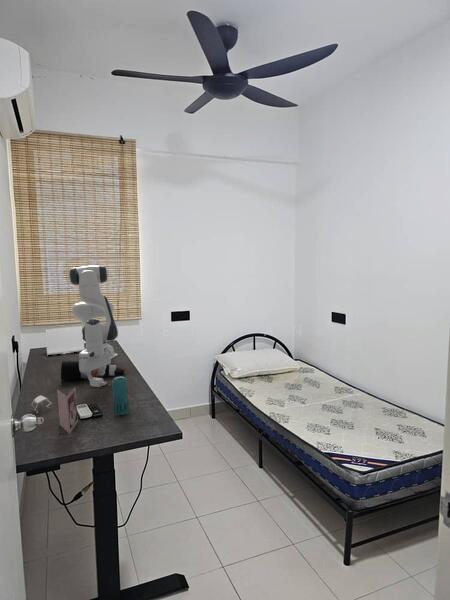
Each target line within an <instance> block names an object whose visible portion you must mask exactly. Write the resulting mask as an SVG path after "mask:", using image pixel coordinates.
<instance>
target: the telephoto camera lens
mask: <svg viewBox="0 0 450 600" xmlns="http://www.w3.org/2000/svg"><path fill="white" fill-rule="evenodd" d="M60 367H61V369H60V380H61V381H69V380H70V381H73V380H74V381H76V380H77V381H78V380H80V381H81V380H82V378H88V376H87V374H86V373H81V372H80V370H79V360H78V361H77V360H75V361H74V360H73V361H72V360H71V361H69V360H68V361H67V360H64V361H62V362H61V366H60ZM117 369H123V370H124V373H126V367H125V368H119V367H117V365H116V364H108V365H106V369H105V374H103V375H102V374H101V372H100V371H101V370H102V367H100V368H98V369H95V370H92V371H91V373H90V374H91V376H92V378H93V377H96V378H99V377H109V376H110V377H111V376H113V377H115V376H114V371H115V370H117Z"/></svg>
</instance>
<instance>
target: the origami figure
mask: <svg viewBox="0 0 450 600" xmlns="http://www.w3.org/2000/svg"><path fill="white" fill-rule="evenodd" d="M44 401H46V402H48V403H47V405H46V406H45V407H46V408H48V409H50V407H49V406H51V405H52V404H53V402H52V401H50V400H49V398H48V397H45V396H43V395H38V396H37V397H36V398H34V399H33V401H32V403H31V406H32V408H34V411H36V414H38V413H39V410H38V409H37V408H38V405H39V404H40V405H42V406H44V404H43V402H44ZM33 404H36V406H34V405H33Z"/></svg>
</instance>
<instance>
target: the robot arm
mask: <svg viewBox="0 0 450 600" xmlns="http://www.w3.org/2000/svg"><path fill="white" fill-rule="evenodd" d="M108 278H109V272H108V269H107V267H106V266H104V265H86V266H85V265H84V266H78V267H77V266H75V267H71V268H70V270H69V273H68V280H69V281H70V284H72V285H75V286H78V291H79V298H80V300H81V302H77V303H74V304H73V305H72V307H71V313H72V315H73V317H75V319H77V320H78V321H80V322H81V324H82V325H83V326H82V334H83V340H84V342H85V347H84V350H83V351H82V352H78V358H79V360H78V361H79V370H80V372H81V373H86V374H87V376H88V377H87V379H88V381H90V380H91V379H93V377H92V376H91V374H90V373H91V371H92V370H95V369H98V368H100V367H102V370H101V371H100V372H101V374H102V375H103V374H105V369H106V365H111V362H112V359H113V358H116V357H118V356H119V355H118V353H116V352H115V349H114V347H113V346H112V345H110V344H108V342H114V340H116V339H117V338H118V336H119V330H118V329H119V328H118V327H117V325H116V324H117V323H116V321H115V319H114V316H113V315H114V314H113V313H114V311H115V310H114V305H113V304H112V302H111V301H110V300H108V298H107V296H105V295H103V293H102V292H101V287H100V284H103V283H106V282H107V281H108ZM97 318H98V319H97ZM99 318H101V319H102V318H104V319H105V321H106V322H104V323H103V322H101V320H99Z"/></svg>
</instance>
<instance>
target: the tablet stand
mask: <svg viewBox="0 0 450 600" xmlns="http://www.w3.org/2000/svg"><path fill="white" fill-rule="evenodd" d="M82 329H83V326H81V325H80V326H79V325H78V326H70V327H58V328H48V329H47V328H46V329H45V342H46V343H45V344H46V345H45V346H46V356H47V357H49V356H48V355H52V356H58V355H57V354H60V355H67V354H66V353H69V354H75V353H74V352H77V353H80V352H82V351H83V350H84V349H85V341H84V340H83V334H82Z"/></svg>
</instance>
